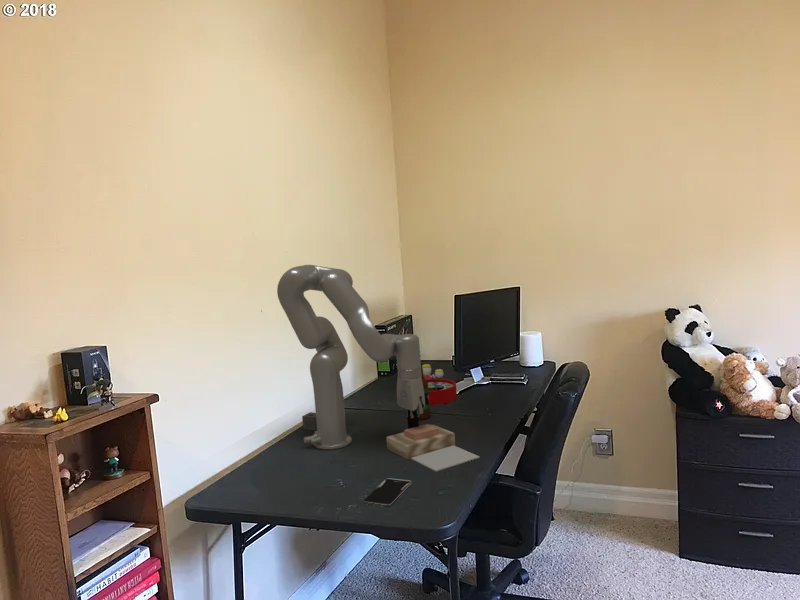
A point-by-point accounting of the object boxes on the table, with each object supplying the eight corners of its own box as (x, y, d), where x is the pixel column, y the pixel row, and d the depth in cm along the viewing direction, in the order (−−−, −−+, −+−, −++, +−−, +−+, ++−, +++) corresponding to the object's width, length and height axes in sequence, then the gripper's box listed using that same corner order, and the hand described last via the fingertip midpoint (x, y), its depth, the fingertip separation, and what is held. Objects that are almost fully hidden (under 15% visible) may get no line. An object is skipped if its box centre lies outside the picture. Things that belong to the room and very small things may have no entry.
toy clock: (401, 391, 247) (412, 378, 266) (402, 405, 247) (413, 392, 267) (451, 391, 242) (459, 378, 261) (452, 406, 242) (460, 392, 262)
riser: (407, 459, 189) (406, 446, 189) (387, 448, 200) (386, 436, 199) (455, 445, 199) (454, 433, 198) (433, 436, 209) (432, 424, 208)
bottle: (426, 421, 225) (422, 352, 222) (407, 420, 228) (403, 352, 225) (432, 414, 232) (428, 348, 229) (413, 414, 235) (409, 348, 232)
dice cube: (303, 429, 225) (302, 416, 224) (311, 425, 229) (310, 412, 229) (314, 431, 223) (313, 417, 222) (322, 426, 227) (321, 413, 226)
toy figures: (446, 381, 280) (445, 363, 279) (443, 384, 276) (442, 365, 275) (421, 380, 284) (419, 362, 283) (418, 383, 280) (416, 365, 279)
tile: (414, 440, 193) (414, 434, 193) (404, 436, 198) (404, 429, 198) (438, 434, 198) (438, 428, 198) (428, 429, 203) (427, 423, 203)
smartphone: (362, 501, 161) (386, 477, 174) (363, 506, 161) (387, 482, 175) (389, 504, 158) (412, 480, 171) (390, 509, 158) (412, 485, 171)
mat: (436, 471, 178) (436, 470, 178) (411, 459, 189) (411, 457, 189) (479, 457, 187) (479, 456, 187) (453, 446, 198) (453, 445, 198)
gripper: (387, 371, 204) (391, 426, 206) (412, 379, 192) (416, 437, 194) (406, 367, 208) (410, 421, 210) (432, 374, 196) (436, 431, 198)
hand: (413, 428), depth 202 cm, fingers closed
